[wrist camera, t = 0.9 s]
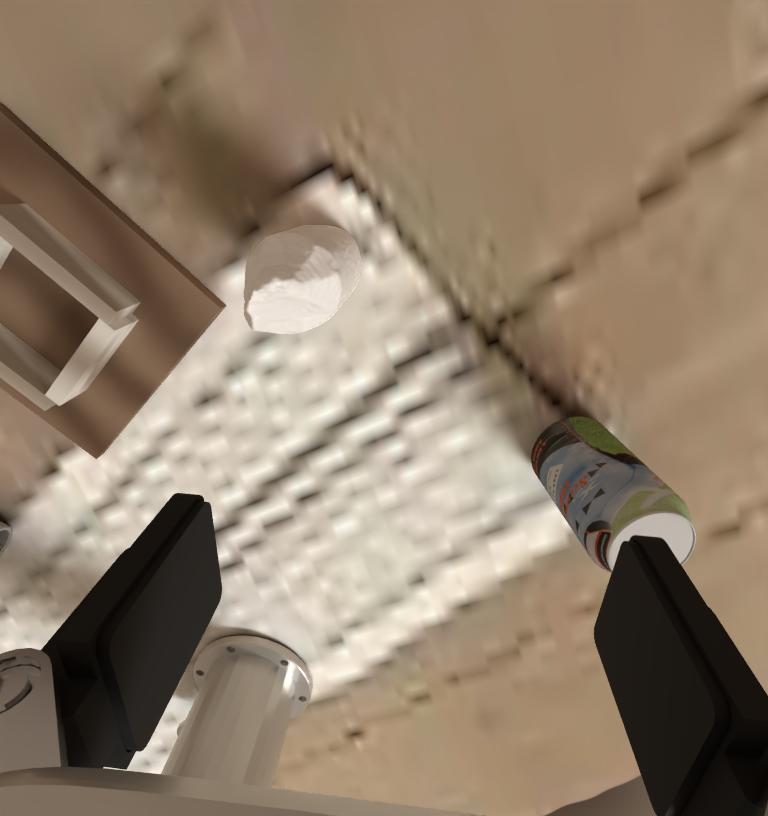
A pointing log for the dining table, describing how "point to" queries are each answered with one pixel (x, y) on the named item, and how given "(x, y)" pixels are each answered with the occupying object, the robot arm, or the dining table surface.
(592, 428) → the beverage can
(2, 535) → the ceramic mug
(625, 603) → the robot arm
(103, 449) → the stand
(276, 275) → the roll
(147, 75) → the dining table surface
